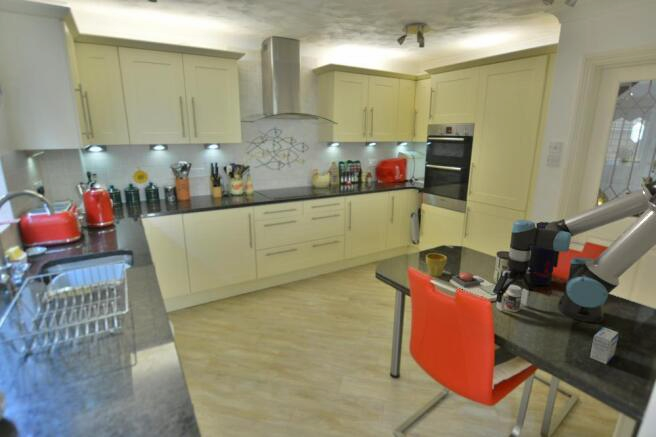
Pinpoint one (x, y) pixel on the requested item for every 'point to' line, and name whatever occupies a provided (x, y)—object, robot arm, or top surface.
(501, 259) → the coffee can
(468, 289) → the white control panel
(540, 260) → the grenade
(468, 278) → the button
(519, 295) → the pill bottle
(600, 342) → the medicine box
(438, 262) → the plant pot
